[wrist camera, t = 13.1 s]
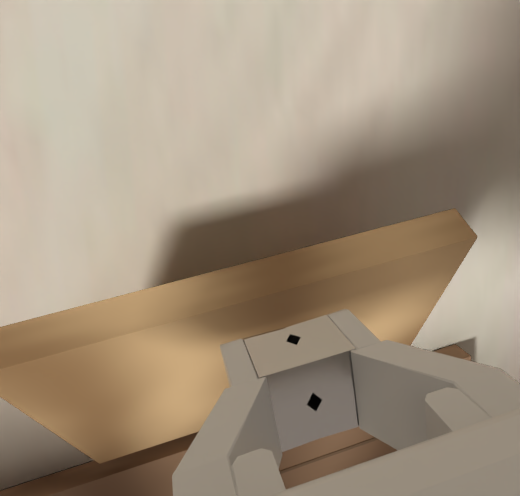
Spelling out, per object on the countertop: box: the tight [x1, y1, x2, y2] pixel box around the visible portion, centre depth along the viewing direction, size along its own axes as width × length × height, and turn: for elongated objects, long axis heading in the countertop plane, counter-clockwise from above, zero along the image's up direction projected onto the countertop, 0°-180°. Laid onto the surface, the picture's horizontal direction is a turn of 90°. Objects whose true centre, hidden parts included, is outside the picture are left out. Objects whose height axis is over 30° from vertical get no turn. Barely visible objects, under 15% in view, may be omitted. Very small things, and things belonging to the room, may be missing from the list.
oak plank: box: [0, 208, 477, 464], centre depth 16 cm, size 14×10×1 cm
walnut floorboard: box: [0, 344, 471, 496], centre depth 21 cm, size 25×6×1 cm, turn 101°
